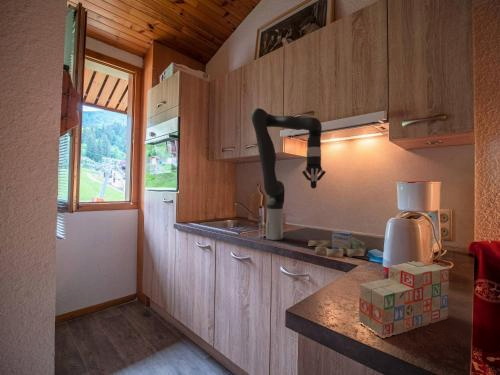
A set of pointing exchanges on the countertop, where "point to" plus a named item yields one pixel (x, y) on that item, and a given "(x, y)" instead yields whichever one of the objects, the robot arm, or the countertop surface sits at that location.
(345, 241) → the medicine box
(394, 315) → the stack of blocks
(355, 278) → the countertop surface
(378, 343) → the countertop surface
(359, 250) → the frame
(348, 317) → the countertop surface
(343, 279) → the countertop surface
